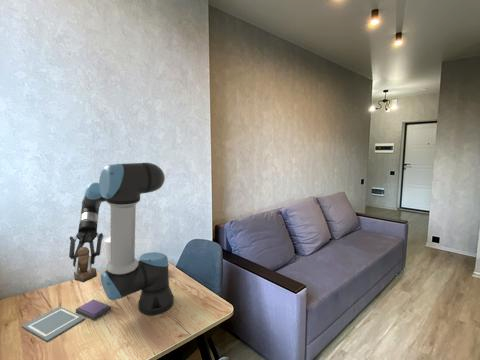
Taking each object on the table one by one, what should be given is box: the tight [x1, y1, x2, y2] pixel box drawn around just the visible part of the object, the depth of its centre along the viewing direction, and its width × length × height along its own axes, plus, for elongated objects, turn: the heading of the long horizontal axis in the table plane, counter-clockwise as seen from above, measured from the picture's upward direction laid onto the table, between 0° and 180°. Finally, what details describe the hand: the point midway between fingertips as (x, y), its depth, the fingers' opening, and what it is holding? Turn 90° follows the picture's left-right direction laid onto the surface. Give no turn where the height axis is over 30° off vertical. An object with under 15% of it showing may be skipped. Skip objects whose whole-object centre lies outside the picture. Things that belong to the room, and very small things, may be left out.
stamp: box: [73, 246, 98, 283], centre depth 111 cm, size 6×6×14 cm
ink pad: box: [75, 299, 112, 322], centre depth 111 cm, size 12×8×2 cm, turn 63°
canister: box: [103, 235, 111, 267], centre depth 146 cm, size 14×14×20 cm
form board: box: [21, 306, 86, 343], centre depth 104 cm, size 18×14×1 cm
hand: (82, 272), depth 108 cm, fingers closed on stamp, 4 cm apart
